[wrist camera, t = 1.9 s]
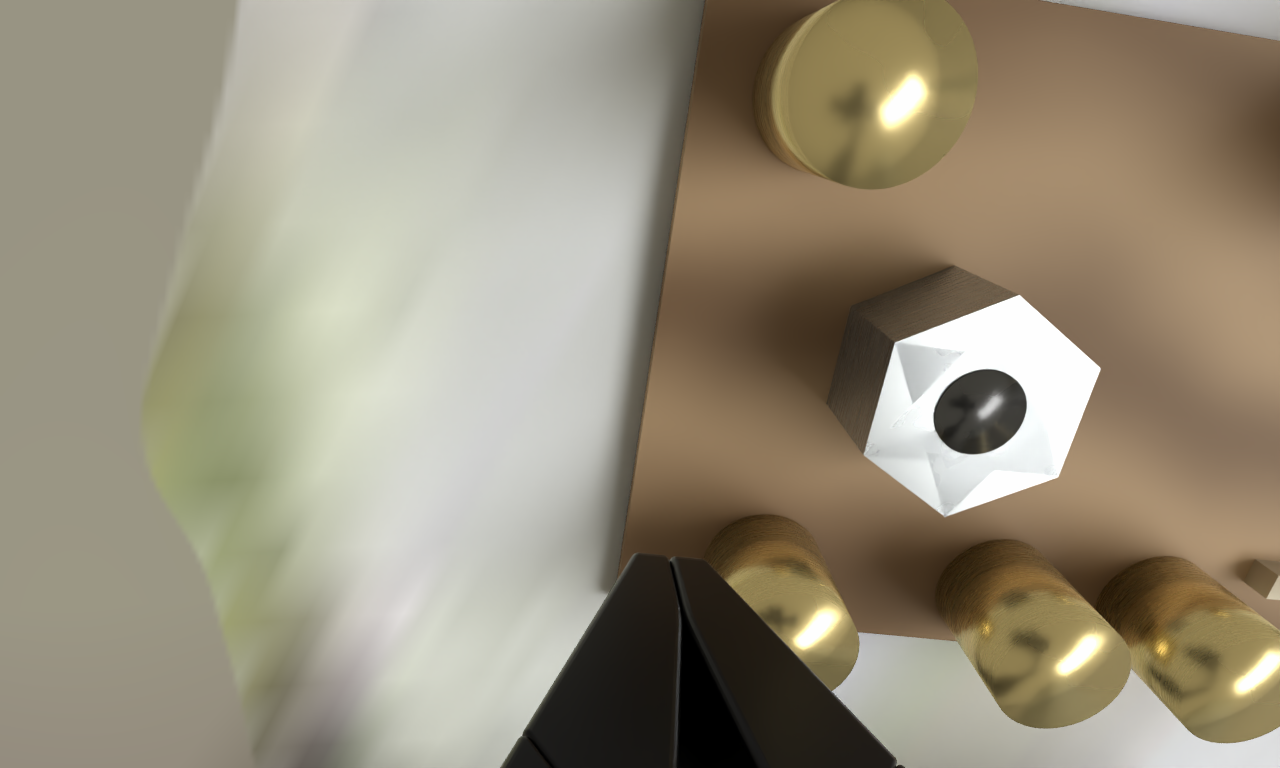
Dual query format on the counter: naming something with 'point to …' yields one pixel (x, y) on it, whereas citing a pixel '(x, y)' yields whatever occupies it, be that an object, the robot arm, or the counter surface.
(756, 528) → the brass spacers
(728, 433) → the walnut board
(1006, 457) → the steel nut
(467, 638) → the counter surface
